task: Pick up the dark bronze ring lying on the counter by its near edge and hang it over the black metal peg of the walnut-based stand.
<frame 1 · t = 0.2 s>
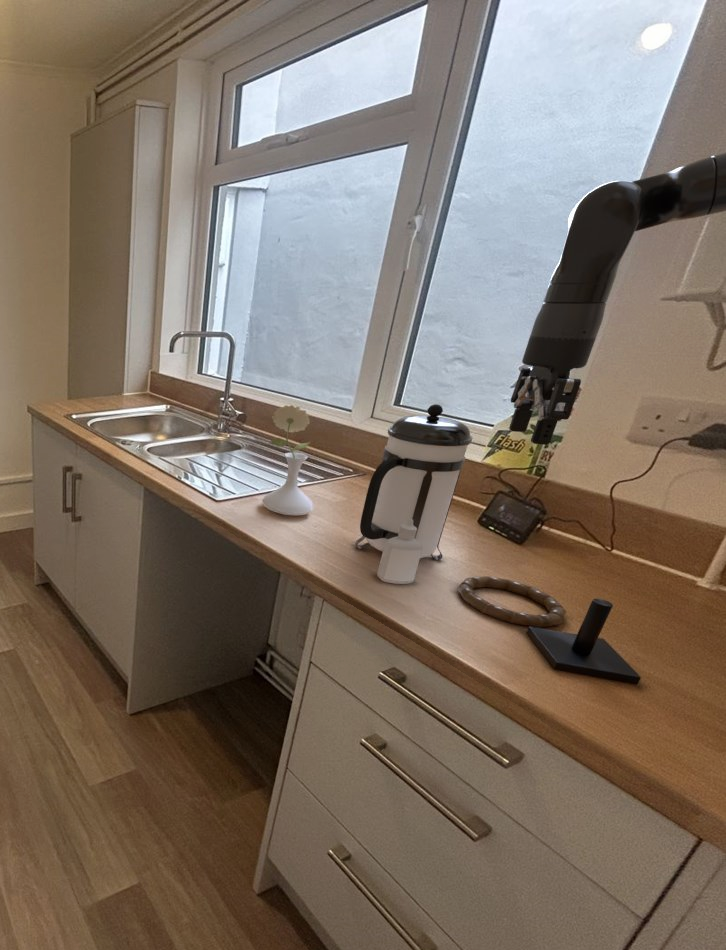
hand: (527, 437, 87), 26 cm above the worktop, tool pointing down, fingers open, 8 cm apart
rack: (577, 656, 76), on the worktop
eye dropper bottle: (394, 580, 96), on the worktop
flower in vase: (283, 510, 127), on the worktop
ring: (509, 600, 88), point 1 cm above the worktop
coffee press: (394, 555, 105), on the worktop
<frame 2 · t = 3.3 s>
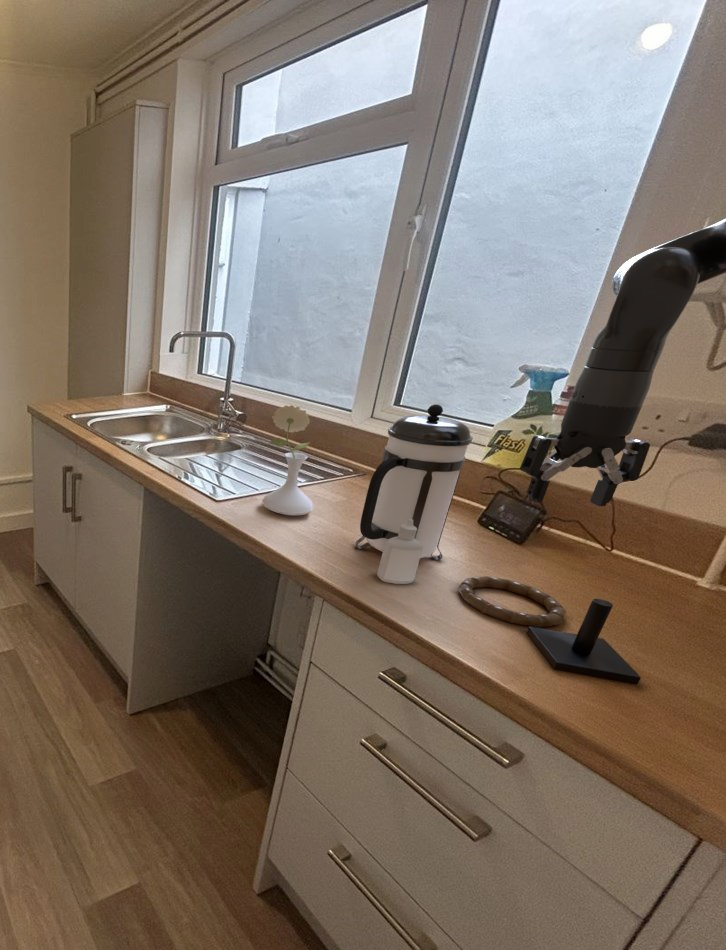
hand: (565, 502, 83), 18 cm above the worktop, tool pointing down, fingers open, 8 cm apart
nothing on the worktop moved.
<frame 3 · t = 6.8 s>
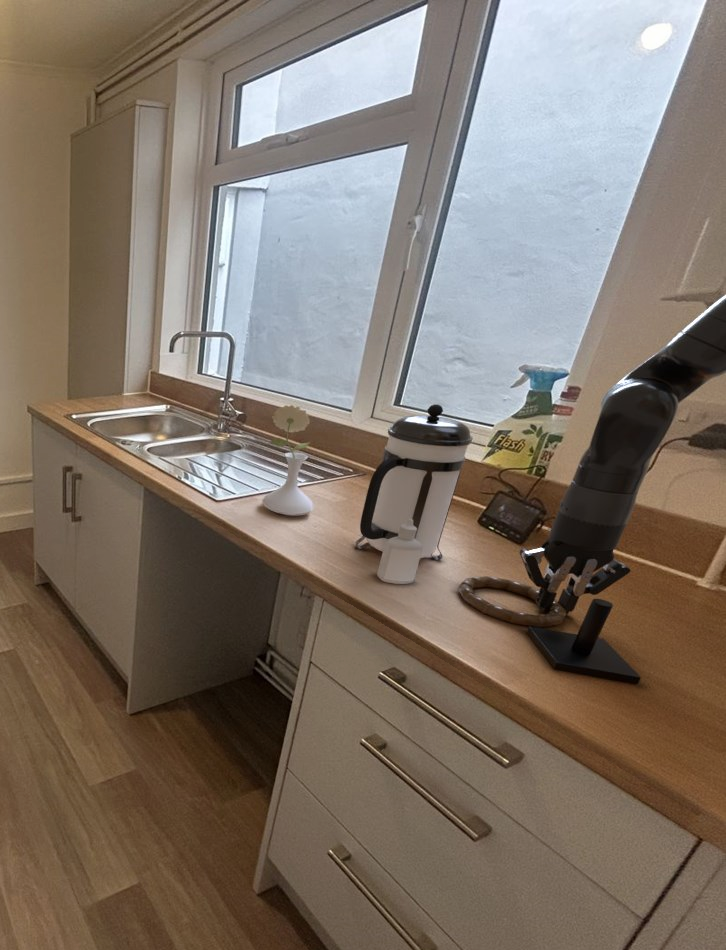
hand: (552, 610, 86), 0 cm above the worktop, tool pointing down, fingers closed on ring, 2 cm apart
ring: (509, 600, 88), point 1 cm above the worktop, touching gripper
everything else where it was.
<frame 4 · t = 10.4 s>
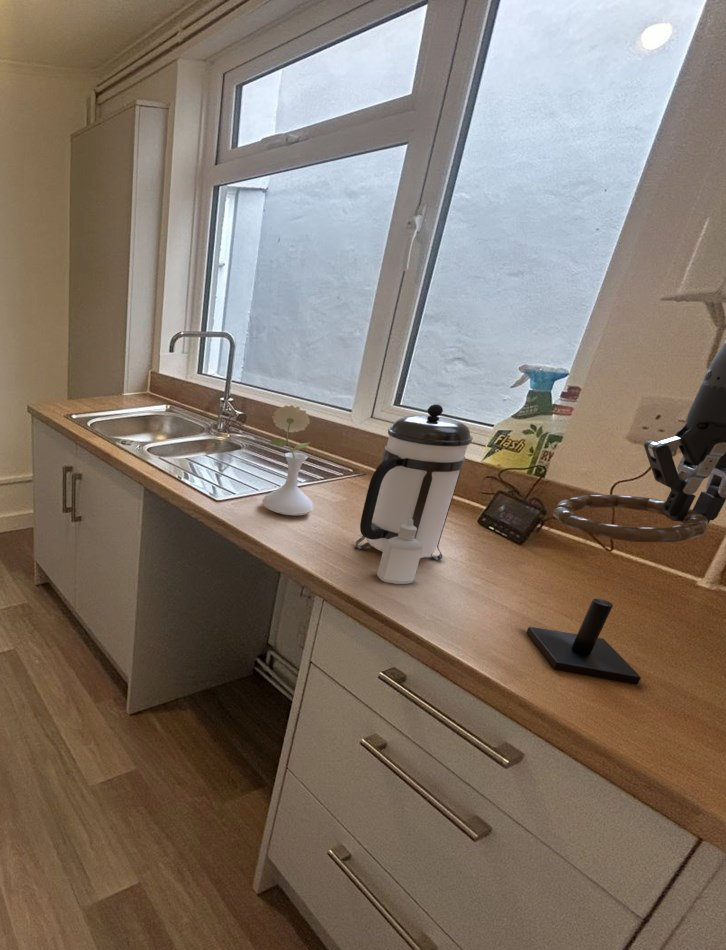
hand: (686, 519, 67), 22 cm above the worktop, tool pointing down, fingers closed on ring
ring: (625, 516, 69), point 21 cm above the worktop, tilted 9°, touching gripper
everything else where it was.
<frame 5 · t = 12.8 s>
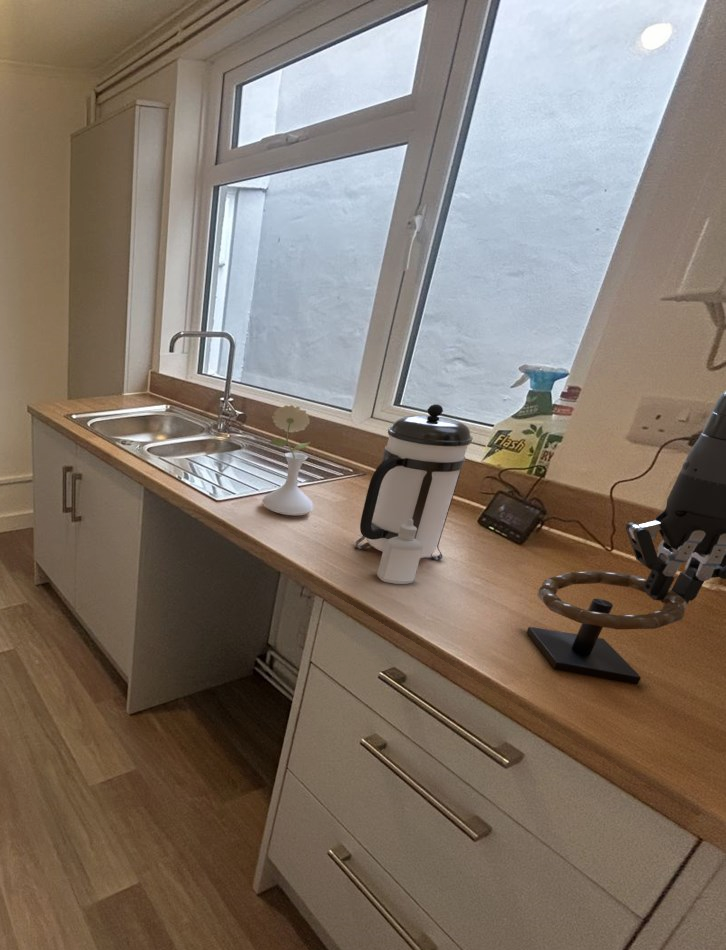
hand: (665, 598, 69), 11 cm above the worktop, tool pointing down, fingers closed on ring
ring: (607, 598, 72), point 10 cm above the worktop, tilted 15°, touching gripper
everything else where it was.
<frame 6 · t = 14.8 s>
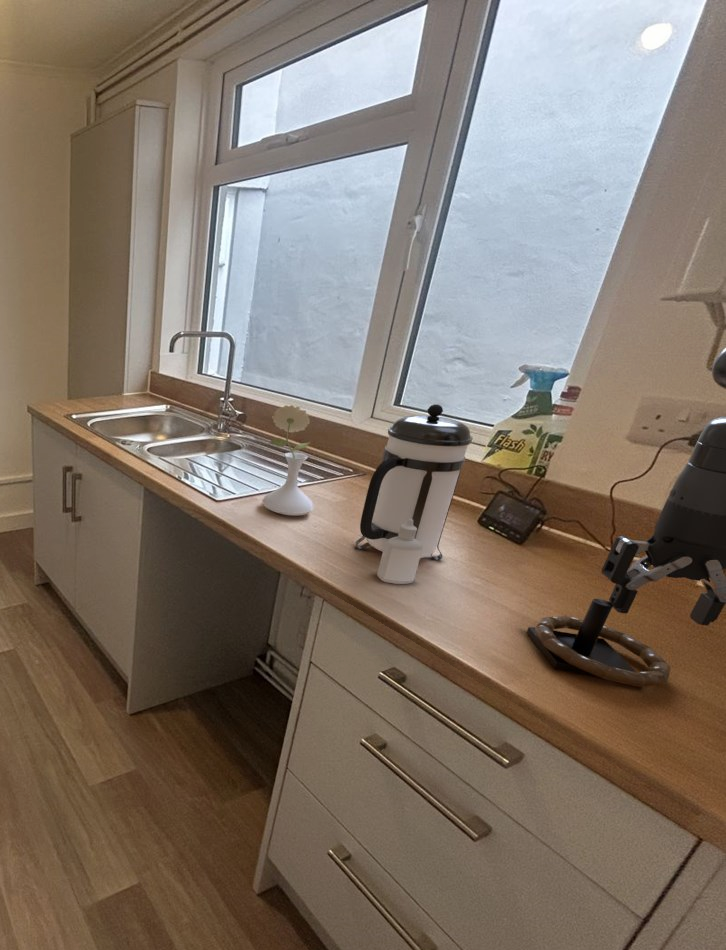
hand: (657, 615, 70), 8 cm above the worktop, tool pointing down, fingers open, 7 cm apart
ring: (599, 648, 74), point 2 cm above the worktop, touching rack
everything else where it was.
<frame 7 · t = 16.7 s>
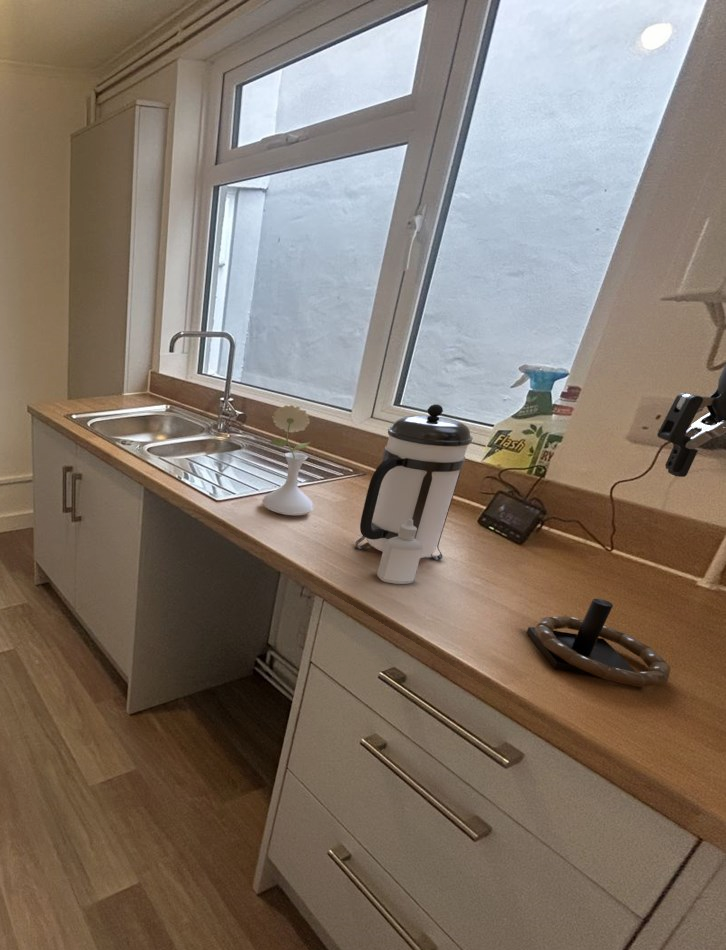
hand: (720, 478, 67), 27 cm above the worktop, tool pointing down, fingers open, 8 cm apart
nothing on the worktop moved.
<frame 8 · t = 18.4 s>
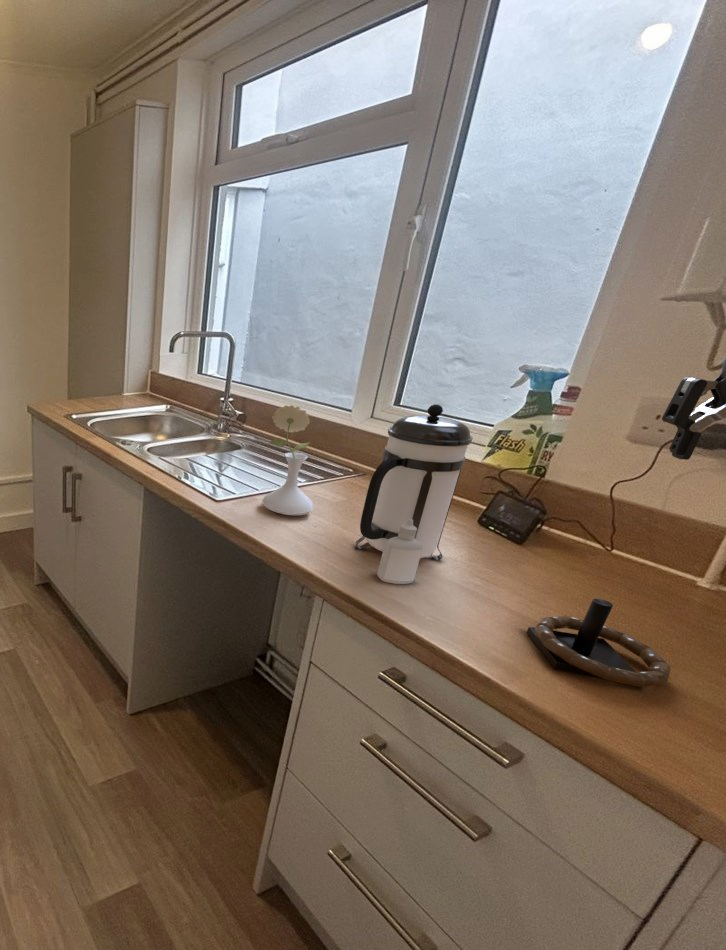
hand: (723, 461, 68), 28 cm above the worktop, tool pointing down, fingers open, 8 cm apart
nothing on the worktop moved.
at the end: ring 1.7 cm from the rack (horizontally); ring point 2.0 cm above the worktop; the gripper is holding nothing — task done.
